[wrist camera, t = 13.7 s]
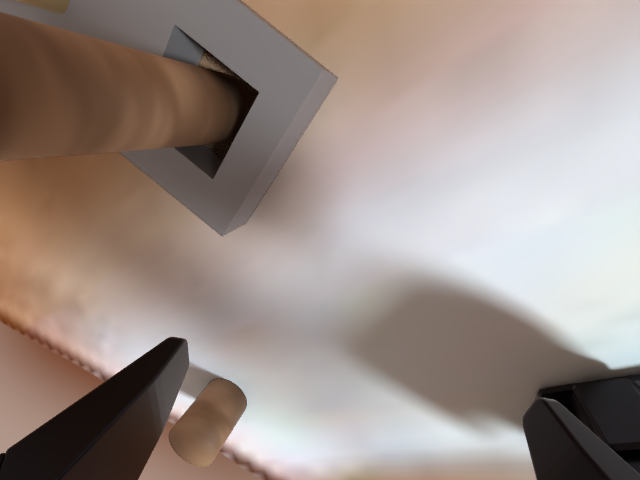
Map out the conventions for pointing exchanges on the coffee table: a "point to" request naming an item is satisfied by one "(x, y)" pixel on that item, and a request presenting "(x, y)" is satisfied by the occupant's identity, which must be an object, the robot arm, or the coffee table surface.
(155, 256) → the coffee table surface
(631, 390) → the robot arm
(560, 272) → the coffee table surface
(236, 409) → the short pin
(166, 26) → the pin board
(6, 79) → the tall pin
